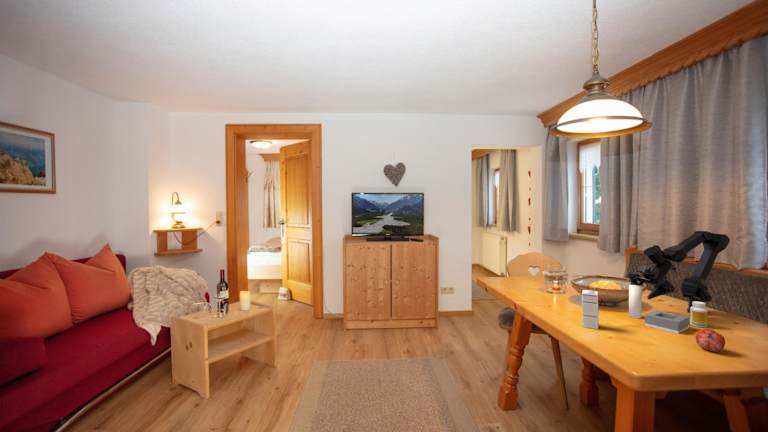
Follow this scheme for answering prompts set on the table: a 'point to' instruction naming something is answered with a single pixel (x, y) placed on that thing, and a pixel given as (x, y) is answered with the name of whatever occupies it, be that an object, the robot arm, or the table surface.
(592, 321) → the syrup box
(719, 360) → the table surface
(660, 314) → the socket
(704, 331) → the pomegranate
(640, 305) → the white cylinder
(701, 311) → the supplement bottle
